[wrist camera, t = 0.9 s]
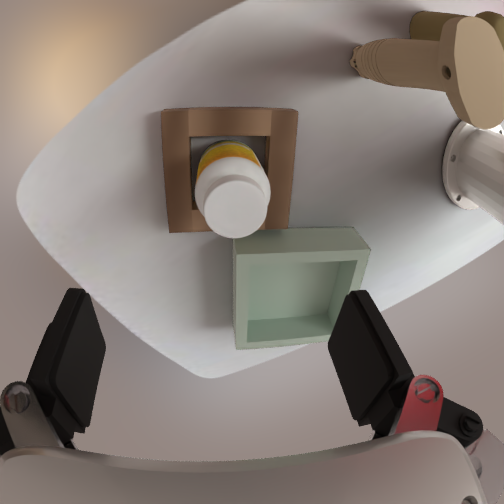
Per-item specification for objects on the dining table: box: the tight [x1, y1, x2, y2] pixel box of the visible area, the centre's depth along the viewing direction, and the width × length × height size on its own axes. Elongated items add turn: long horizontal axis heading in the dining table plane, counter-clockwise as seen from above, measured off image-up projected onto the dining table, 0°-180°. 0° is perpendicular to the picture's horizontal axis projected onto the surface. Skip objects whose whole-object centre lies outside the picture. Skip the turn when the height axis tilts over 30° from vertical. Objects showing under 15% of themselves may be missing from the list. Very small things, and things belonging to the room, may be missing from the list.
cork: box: [410, 11, 504, 50], centre depth 16 cm, size 6×6×11 cm
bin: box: [233, 227, 371, 350], centre depth 33 cm, size 13×13×4 cm
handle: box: [350, 17, 504, 129], centre depth 16 cm, size 5×6×15 cm
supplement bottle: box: [195, 140, 271, 238], centre depth 23 cm, size 5×5×10 cm
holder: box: [161, 107, 298, 233], centre depth 26 cm, size 11×11×2 cm
